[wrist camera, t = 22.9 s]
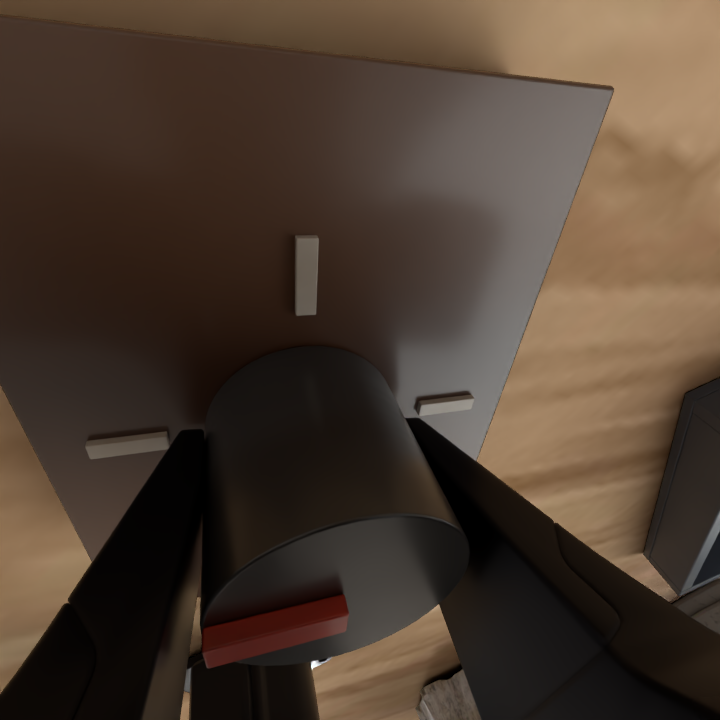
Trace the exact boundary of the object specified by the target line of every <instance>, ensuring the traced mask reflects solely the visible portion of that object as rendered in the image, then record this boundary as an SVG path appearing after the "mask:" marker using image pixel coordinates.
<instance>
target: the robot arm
mask: <svg viewBox="0 0 720 720" xmlns="http://www.w3.org/2000/svg"><path fill="white" fill-rule="evenodd" d="M405 419H406V421H407V423H408V425H409V427H410V428H411V430H412V432H413V434H414V436H415V438H416V440H417V442H418V444H419V446H420V448H421V450H422V452H423V454H424V456H425V458H426V459H427V461H428V463H429V465H430V467H431V469H432V471H433V473H434V475H435V477H436V479H437V481H438V483H439V485H440V487H441V488H442V490H443V492H444V494H445V496H446V498H447V500H448V502H449V504H450V506H451V508H452V510H453V512H454V514H455V516H456V517H457V519H458V521H459V523H460V525H461V527H462V529H463V531H464V533H465V535H466V537H467V539H468V542H469V547H470V559H469V564H468V566H467V569H466V571H465V573H464V575H463V577H462V579H461V580H460V581H459V583H458V584H457V586H456V587H455V588H454V589H453V590H452V591H451V593H450V594H449V595H448V596H447V597H446V598H445V599H444V600H442V601H441V602H440V603H439V605H440V608H441V611H442V613H443V616H444V619H445V622H446V624H447V627H448V630H449V633H450V635H451V638H452V641H453V644H454V646H455V649H456V652H457V654H458V657H459V660H460V663H461V665H462V668H463V671H464V674H465V676H466V679H467V682H468V685H469V687H470V690H471V693H472V696H473V698H474V701H475V704H476V707H477V709H478V712H479V715H480V718H481V720H720V634H719V633H717V632H715V631H713V630H711V629H709V628H708V627H706V626H704V625H703V624H701V623H700V622H698V621H696V620H695V619H693V618H692V617H690V616H689V615H687V614H686V613H684V612H683V611H681V610H680V609H678V608H677V607H675V606H674V605H672V604H671V603H669V602H668V601H667V600H665V599H664V598H662V597H661V596H659V595H658V594H656V593H655V592H653V591H652V590H650V589H649V588H647V587H646V586H644V585H643V584H641V583H640V582H638V581H637V580H635V579H634V578H632V577H631V576H629V575H628V574H626V573H625V572H623V571H622V570H621V569H619V568H618V567H616V566H615V565H613V564H612V563H610V562H609V561H608V560H606V559H605V558H603V557H602V556H600V555H599V554H598V553H596V552H595V551H593V550H592V549H591V548H589V547H588V546H587V545H585V544H584V543H583V542H581V541H580V540H579V539H577V538H576V537H575V536H573V535H572V534H571V533H569V532H568V531H567V530H565V529H564V528H563V527H561V526H560V525H559V524H558V523H554V521H553V520H552V519H551V518H550V517H548V516H547V515H546V514H544V513H543V512H542V511H540V510H539V509H538V508H537V507H535V506H534V505H533V504H531V503H530V502H529V501H527V500H526V499H525V498H524V497H522V496H521V495H520V494H518V493H517V492H516V491H514V490H513V489H512V488H510V487H509V486H508V485H507V484H505V483H504V482H503V481H501V480H500V479H499V478H497V477H496V476H495V475H494V474H492V473H491V472H490V471H488V470H487V469H486V468H484V467H483V466H482V465H481V464H479V463H478V462H477V461H475V460H474V459H473V458H471V457H470V456H469V455H467V454H466V453H465V452H464V451H462V450H461V449H460V448H458V447H457V446H456V445H454V444H453V443H452V442H451V441H449V440H448V439H447V438H445V437H444V436H443V435H441V434H440V433H439V432H438V431H436V430H435V429H434V428H432V427H431V426H430V425H428V424H427V423H426V422H424V421H423V420H422V419H420V418H417V417H413V418H405ZM204 448H205V438H204V431H203V430H202V429H187V430H182V431H180V432H179V433H178V435H177V436H176V438H175V439H174V441H173V442H172V444H171V445H170V447H169V448H168V450H167V451H166V453H165V454H164V456H163V457H162V459H161V460H160V462H159V463H158V465H157V466H156V468H155V469H154V471H153V472H152V474H151V475H150V477H149V478H148V480H147V481H146V483H145V484H144V485H143V487H142V488H141V490H140V491H139V493H138V494H137V496H136V497H135V499H134V500H133V502H132V503H131V505H130V506H129V508H128V509H127V511H126V512H125V514H124V515H123V517H122V518H121V520H120V521H119V523H118V524H117V526H116V527H115V529H114V530H113V532H112V533H111V535H110V536H109V538H108V539H107V541H106V542H105V544H104V545H103V547H102V548H101V550H100V551H99V553H98V554H97V556H96V557H95V559H94V560H93V562H92V563H91V565H90V566H89V568H88V569H87V571H86V572H85V574H84V575H83V577H82V578H81V580H80V581H79V583H78V584H77V586H76V587H75V589H74V590H73V592H72V593H71V595H70V596H69V598H68V602H69V603H66V604H64V605H63V606H62V608H61V609H60V611H59V612H58V614H57V615H56V617H55V618H54V620H53V621H52V623H51V624H50V626H49V627H48V629H47V630H46V632H45V633H44V634H43V636H42V637H41V639H40V640H39V641H38V643H37V644H36V646H35V647H34V649H33V650H32V651H31V653H30V654H29V656H28V657H27V658H26V660H25V661H24V663H23V664H22V666H21V667H20V668H19V670H18V671H17V673H16V674H15V675H14V677H13V678H12V679H11V681H10V682H9V683H8V684H7V686H6V687H5V688H4V690H3V691H2V692H1V694H0V720H180V714H181V707H182V700H183V693H184V691H186V692H189V693H190V707H189V720H320V718H319V712H318V706H317V699H316V693H315V687H314V680H313V674H312V668H314V667H317V666H319V665H321V664H323V663H325V662H327V661H329V660H330V659H331V657H330V658H326V659H322V660H317V661H312V662H306V663H299V664H291V665H275V666H263V665H250V664H244V663H239V662H231V663H227V664H224V665H220V666H216V667H213V668H207V667H206V664H205V661H204V658H203V654H202V653H201V654H198V655H196V656H194V657H192V658H190V659H188V657H189V650H190V643H191V635H192V628H193V621H194V614H195V607H196V599H197V592H198V585H199V578H200V571H201V563H202V523H203V486H204Z"/></svg>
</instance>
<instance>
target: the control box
mask: <svg viewBox="0 0 720 720" xmlns="http://www.w3.org/2000/svg"><path fill="white" fill-rule="evenodd" d="M613 92H614V88H613V87H612V86H606V85H598V84H589V83H581V82H572V81H564V80H555V79H547V78H538V77H529V76H521V75H512V74H504V73H495V72H487V71H478V70H470V69H461V68H453V67H444V66H436V65H427V64H419V63H410V62H402V61H393V60H385V59H376V58H368V57H359V56H350V55H342V54H333V53H325V52H316V51H308V50H299V49H291V48H282V47H274V46H265V45H257V44H248V43H240V42H231V41H223V40H214V39H206V38H197V37H189V36H180V35H171V34H163V33H154V32H146V31H137V30H129V29H120V28H112V27H103V26H95V25H86V24H78V23H69V22H61V21H52V20H44V19H35V18H27V17H18V16H10V15H1V14H0V385H1V387H2V389H3V391H4V393H5V395H6V397H7V399H8V401H9V403H10V404H11V406H12V408H13V410H14V412H15V414H16V416H17V418H18V420H19V422H20V424H21V426H22V428H23V430H24V431H25V433H26V435H27V437H28V439H29V441H30V443H31V445H32V447H33V449H34V451H35V453H36V455H37V457H38V458H39V460H40V462H41V464H42V466H43V468H44V470H45V472H46V474H47V476H48V478H49V480H50V482H51V484H52V486H53V487H54V489H55V491H56V493H57V495H58V497H59V499H60V501H61V503H62V505H63V507H64V509H65V511H66V513H67V514H68V516H69V518H70V520H71V522H72V524H73V526H74V528H75V530H76V532H77V534H78V536H79V538H80V540H81V541H82V543H83V545H84V547H85V549H86V551H87V553H88V555H89V557H90V559H91V561H92V562H93V560H94V559H95V557H96V556H97V554H98V553H99V551H100V550H101V548H102V547H103V545H104V544H105V542H106V541H107V539H108V538H109V536H110V535H111V533H112V532H113V530H114V529H115V527H116V526H117V524H118V523H119V521H120V520H121V518H122V517H123V515H124V514H125V512H126V511H127V509H128V508H129V506H130V505H131V503H132V502H133V500H134V499H135V497H136V496H137V494H138V493H139V491H140V490H141V488H142V487H143V485H144V484H145V483H146V481H147V480H148V478H149V477H150V475H151V474H152V472H153V471H154V469H155V468H156V466H157V465H158V463H159V462H160V460H161V459H162V457H163V456H164V454H165V453H166V451H167V450H168V448H169V447H170V445H171V444H172V442H173V441H174V439H175V438H176V436H177V435H178V433H179V432H180V431H182V430H187V429H202V430H203V431H204V438H205V422H206V416H207V412H208V409H209V406H210V404H211V402H212V400H213V398H214V397H215V395H216V394H217V392H218V391H219V390H220V388H221V387H222V386H223V385H224V384H225V383H226V382H227V380H228V379H229V378H230V377H232V376H233V375H234V374H235V373H236V372H238V371H239V370H240V369H242V368H243V367H245V366H246V365H248V364H250V363H251V362H253V361H255V360H257V359H259V358H261V357H263V356H266V355H269V354H271V353H274V352H277V351H281V350H285V349H289V348H295V347H303V346H324V347H333V348H337V349H342V350H345V351H348V352H351V353H354V354H356V355H358V356H360V357H362V358H364V359H365V360H367V361H368V362H369V363H371V364H372V365H373V366H374V367H375V368H376V369H377V370H378V371H379V372H380V373H381V374H382V376H383V377H384V379H385V380H386V382H387V384H388V386H389V388H390V390H391V392H392V394H393V396H394V398H395V399H396V401H397V403H398V405H399V407H400V409H401V411H402V413H403V415H404V417H405V418H413V417H417V418H420V419H422V420H423V421H424V422H426V423H427V424H428V425H430V426H431V427H432V428H434V429H435V430H436V431H438V432H439V433H440V434H441V435H443V436H444V437H445V438H447V439H448V440H449V441H451V442H452V443H453V444H454V445H456V446H457V447H458V448H460V449H461V450H462V451H464V452H465V453H466V454H467V455H469V456H470V457H471V458H473V459H474V460H475V461H477V458H478V456H479V453H480V450H481V448H482V445H483V442H484V440H485V437H486V434H487V431H488V429H489V426H490V423H491V421H492V418H493V415H494V413H495V410H496V407H497V405H498V402H499V399H500V396H501V394H502V391H503V388H504V386H505V383H506V380H507V378H508V375H509V372H510V370H511V367H512V364H513V361H514V359H515V356H516V353H517V351H518V348H519V345H520V343H521V340H522V337H523V335H524V332H525V329H526V326H527V324H528V321H529V318H530V316H531V313H532V310H533V308H534V305H535V302H536V300H537V297H538V294H539V291H540V289H541V286H542V283H543V281H544V278H545V275H546V273H547V270H548V267H549V265H550V262H551V259H552V257H553V254H554V251H555V248H556V246H557V243H558V240H559V238H560V235H561V232H562V230H563V227H564V224H565V222H566V219H567V216H568V213H569V211H570V208H571V205H572V203H573V200H574V197H575V195H576V192H577V189H578V187H579V184H580V181H581V178H582V176H583V173H584V170H585V168H586V165H587V162H588V160H589V157H590V154H591V152H592V149H593V146H594V143H595V141H596V138H597V135H598V133H599V130H600V127H601V125H602V122H603V119H604V117H605V114H606V111H607V109H608V106H609V103H610V100H611V98H612V95H613ZM197 597H201V571H200V578H199V585H198V592H197Z"/></svg>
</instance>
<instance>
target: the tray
mask: <svg viewBox="0 0 720 720" xmlns="http://www.w3.org/2000/svg"><path fill="white" fill-rule="evenodd" d="M643 555H644V556H645V557H646V558H647V559H648V560H649V562H650V563H651V564H652V565H653V566H654V568H655V569H656V570H657V571H658V572H659V574H660V575H661V576H662V577H663V578H664V579H665V581H666V582H667V583H668V584H669V585H670V586H671V588H672V589H673V590H674V591H675V592H676V594H677V595H678V596H681V595H683V594H685V593H688V592H690V591H692V590H694V589H696V588H698V587H700V586H703V585H705V584H707V583H709V582H711V581H713V580H715V579H718V578H720V378H718V379H716V380H714V381H712V382H710V383H707V384H705V385H703V386H701V387H699V388H697V389H694V390H692V391H690V392H688V393H686V394H685V398H684V402H683V405H682V409H681V413H680V417H679V421H678V424H677V428H676V432H675V436H674V439H673V443H672V447H671V451H670V455H669V458H668V462H667V466H666V470H665V473H664V477H663V481H662V485H661V489H660V492H659V496H658V500H657V504H656V507H655V511H654V515H653V519H652V523H651V526H650V530H649V534H648V538H647V541H646V545H645V549H644V553H643Z"/></svg>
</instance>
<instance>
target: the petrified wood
mask: <svg viewBox="0 0 720 720" xmlns="http://www.w3.org/2000/svg"><path fill="white" fill-rule="evenodd" d="M420 693H421V696H422V700H421V702H420V704H419V706H417V707H416V711H417V714H418V716H419V719H420V720H481V718H480V715H479V712H478V709H477V707H476V704H475V701H474V698H473V696H472V693H471V690H470V687H469V685H468V682H467V679H466V676H465V674H464V671H463V669H462V670H461V671H460V672H458V673H456V674H454V675H453V677H451V678H450V679H448V680H438V681H435V682H433V683H431V684H429V685H427V686H425V687H423V689H422V690H421V691H420Z"/></svg>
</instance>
